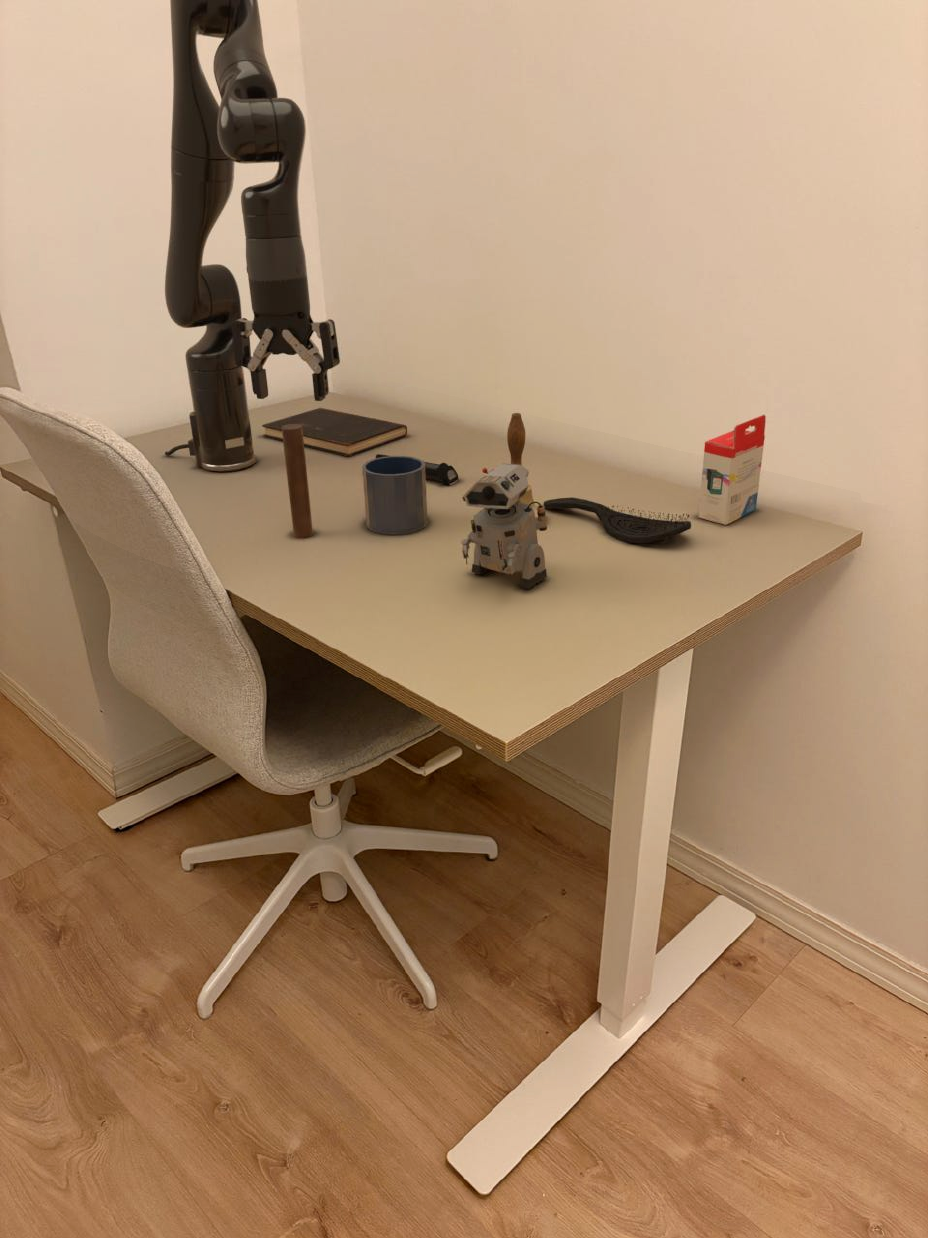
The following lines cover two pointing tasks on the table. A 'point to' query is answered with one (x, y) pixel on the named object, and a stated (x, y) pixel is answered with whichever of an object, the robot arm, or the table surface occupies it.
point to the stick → (297, 480)
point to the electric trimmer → (437, 472)
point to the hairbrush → (625, 521)
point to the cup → (395, 495)
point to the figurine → (505, 526)
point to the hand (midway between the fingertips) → (291, 398)
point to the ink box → (732, 473)
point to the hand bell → (519, 451)
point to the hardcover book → (339, 431)
